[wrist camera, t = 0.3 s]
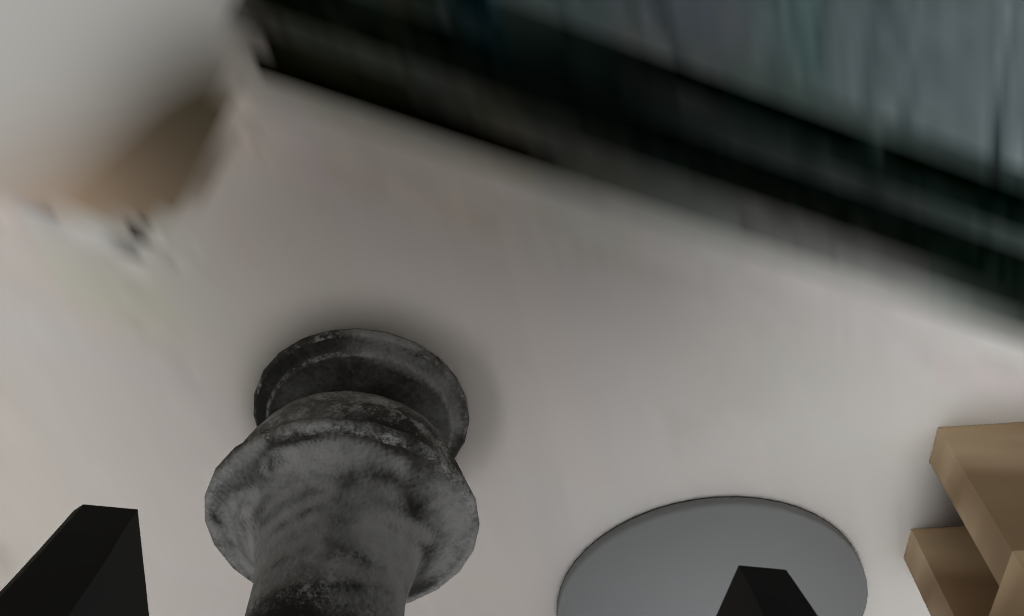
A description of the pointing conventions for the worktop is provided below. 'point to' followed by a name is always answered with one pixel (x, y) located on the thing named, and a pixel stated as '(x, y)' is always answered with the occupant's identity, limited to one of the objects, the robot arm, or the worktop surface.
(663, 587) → the pad
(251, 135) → the worktop surface
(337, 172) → the worktop surface
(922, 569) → the slotted wooden block
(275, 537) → the dark grey stone ornament
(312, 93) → the worktop surface
